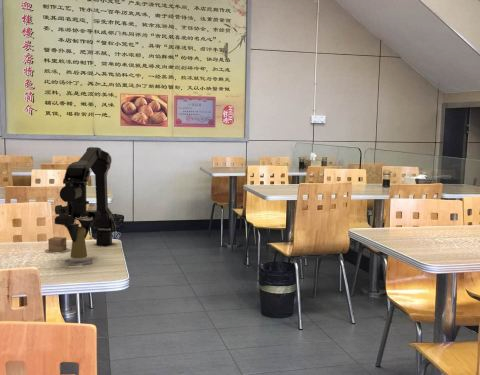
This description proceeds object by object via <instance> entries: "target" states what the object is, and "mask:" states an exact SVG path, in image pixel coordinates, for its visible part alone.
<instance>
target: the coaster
mask: <svg viewBox="0 0 480 375" xmlns="http://www.w3.org/2000/svg"><path fill="white" fill-rule="evenodd" d="M43 251H44V253H47V254H54V255H55V254H64V253H68V252H71V248H68V247H66V250H64V251H62V252H49V248H47V249H44V250H43Z"/></svg>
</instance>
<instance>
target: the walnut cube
mask: <svg viewBox="0 0 480 375" xmlns="http://www.w3.org/2000/svg"><path fill="white" fill-rule="evenodd" d="M47 244H48V249H49V252H62V251H64V250H66V248H67V237H66V236H65V237H64V236H63V237H62V236H52V237H50V238H48V242H47Z"/></svg>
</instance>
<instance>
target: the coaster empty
mask: <svg viewBox="0 0 480 375" xmlns="http://www.w3.org/2000/svg"><path fill="white" fill-rule="evenodd" d="M93 262H94V260H93V259H92V258H89V257H85V258H69V259H66V260H65V261H64V263H65V264H67V265H68V266H72V267H74V266H79V265H81V266H88V265H92V264H93Z"/></svg>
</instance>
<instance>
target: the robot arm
mask: <svg viewBox="0 0 480 375" xmlns="http://www.w3.org/2000/svg"><path fill="white" fill-rule="evenodd" d="M111 165H112V156H111V155H110V153H109V152H107V151H105V150H103V149H102V148H100V147H97V146H96V147H93V146H89V147H87V148H86V151H85V152H84V153H83V155H82V156H81V157H80V158H79V159H78V160H77V161H73V162H71V163H70V164H68V166H67V168H66V170H65V174H64V177H63V181H62V184H63V185H64V186H63V187H62V188H61V189H60V190H59V197H60V199H61V201H62V202H65V203H66V205H64V206H63V205H62V204H59V205H55V206H54V213H55V215H57V216H55V217H54V225H58V226H64V227H65V228H66V230H67V231H68V234H69V236H70V238H71V242H72V241H73V242H75V241H76V237H77V232H78V227H84V228H85V229H86V234H85V239H86V238H87V236H88V235H89V234H88V233H89V232H90V230H91V228H92V232H94V233H95V232H96V237H95V238H96V239H95V240H96V243H94V244H93V245H94V246H98V247H99V246H100V247H109V246H112V245H116V243H113V233H116V231H117V224H116V222H115V220H114V217H113V212H112V211H111V209H110V208H109V199H108V195H109V194H108V176H107V175H108V173H109V171H110V169H111ZM90 170H91V171H92V173H93V174H94V179H95V180H94V181H95V203H96V209H87V205H89V204H90V201H89V200H87V185H88V182H89V178H90V177H91V176H90V175H91V171H90ZM77 221H78V222H79V223H77ZM79 225H80V226H79Z"/></svg>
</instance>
